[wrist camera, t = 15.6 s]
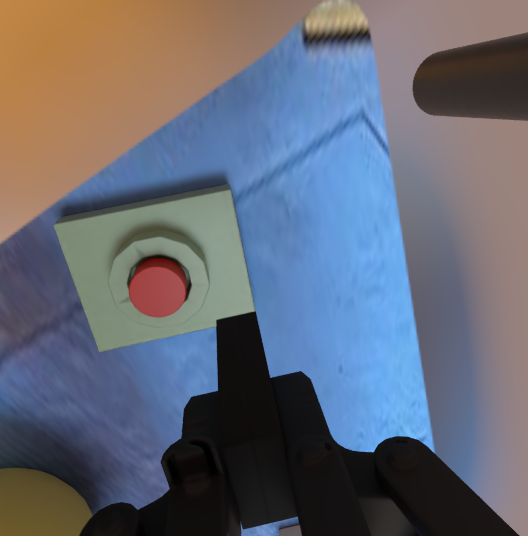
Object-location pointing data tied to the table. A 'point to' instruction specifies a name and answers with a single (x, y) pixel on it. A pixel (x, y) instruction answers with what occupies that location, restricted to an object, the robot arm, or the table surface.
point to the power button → (158, 287)
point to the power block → (157, 246)
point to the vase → (39, 505)
